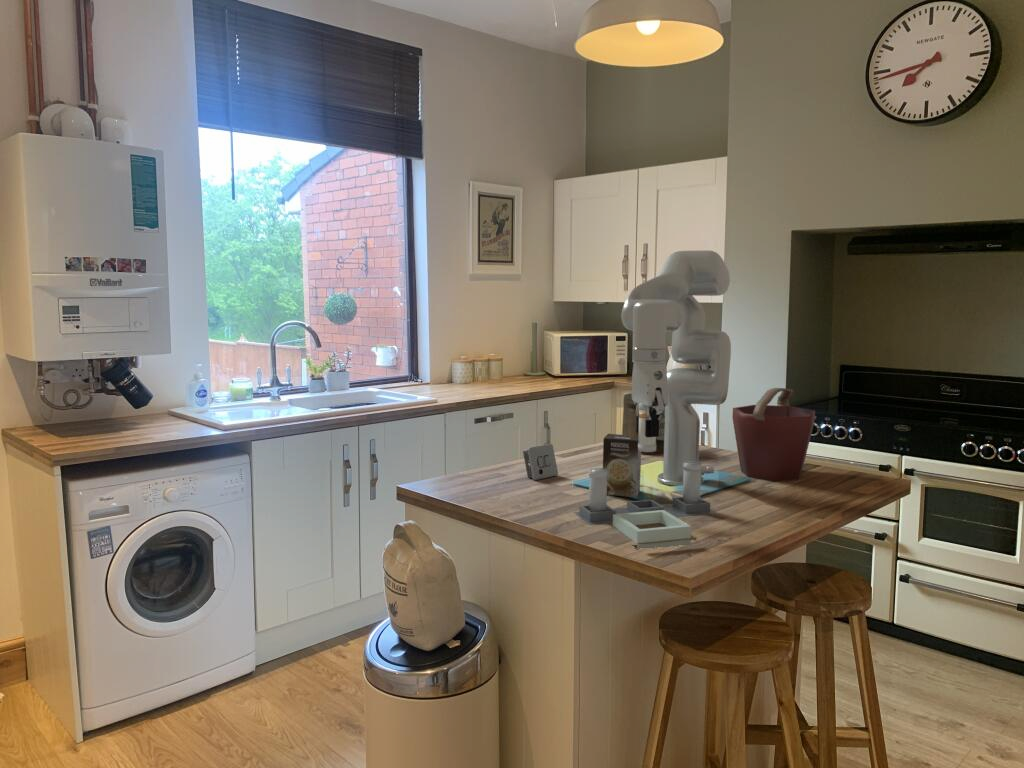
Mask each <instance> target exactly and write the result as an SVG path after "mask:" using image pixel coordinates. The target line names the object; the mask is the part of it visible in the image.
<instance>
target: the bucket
mask: <svg viewBox="0 0 1024 768" xmlns="http://www.w3.org/2000/svg"><path fill="white" fill-rule="evenodd" d="M780 392H781V393H780ZM793 392H794V390H793V389H792V388H786V387H785V388H783V387H773V388H770V389H767V391H766V392H765V393H764V394H763V395H762V396H761V398H760V399H759V400H757V402H756V404H751V405H744V406H738V407H732V422H733V423H732V424H733V429H734V430H733V431H734V436H735V437H734V438H735V442H736V449H737V454H738V455H737V456H738V461H739V467H740V471H741V472H742V473H743V474H744V476H746V477H747V478H751V479H758V480H765V481H770V482H784V481H785V482H786V481H798V480H799V479H800V477H801V476H802V473H803V469H804V466H805V461H806V457H807V453H808V449H809V444H810V441H811V437H812V433H813V429H814V425H815V417H816V411H815V410H811V409H805V408H800V407H796V406H791V405H790V403H789V398H790V397H791V396H792V394H793ZM778 393H780V395H779V396H778V397H777V403H776V405H770V403H771V402H772V400H773V399H774V398H775V397H776V395H777V394H778Z"/></svg>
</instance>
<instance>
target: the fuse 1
mask: <svg viewBox="0 0 1024 768" xmlns="http://www.w3.org/2000/svg"><path fill="white" fill-rule="evenodd" d="M607 476H608V470H607V469H604V468H603V467H591V468H589V469H588V478H589V482H588V483H589V485H588V489H589V490H588V505H589V511H590V512H591V513H592V512H603V511H606V508H607V505H608V504H607V501H608V500H607V499H608V498H607V497H608V495H607Z"/></svg>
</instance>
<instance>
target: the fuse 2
mask: <svg viewBox="0 0 1024 768" xmlns="http://www.w3.org/2000/svg"><path fill="white" fill-rule="evenodd" d="M702 466H703V465H702V462H700V461H699V462H694V461H688V462H684V463H683V469H684V475H683V485H682V497H683V502H684V503H686V504H695V503H700V498H701V485H702V484H701V469H702Z"/></svg>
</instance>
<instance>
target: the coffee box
mask: <svg viewBox="0 0 1024 768" xmlns="http://www.w3.org/2000/svg"><path fill="white" fill-rule="evenodd" d="M638 438H639V436H630V435H622V434H618V433H617V434H616V433H607V434H606V435H605V436H604V438H603V447H602V448H603V449H602V450H603V453H602V468H604V469H607V470H608V476H607V496H608V495H609V496H619V497H630V498H637V497H638V495H639V493H640V491H641V473H642V472H641V469H642V466H641V463H642V454H641V451H638Z"/></svg>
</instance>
